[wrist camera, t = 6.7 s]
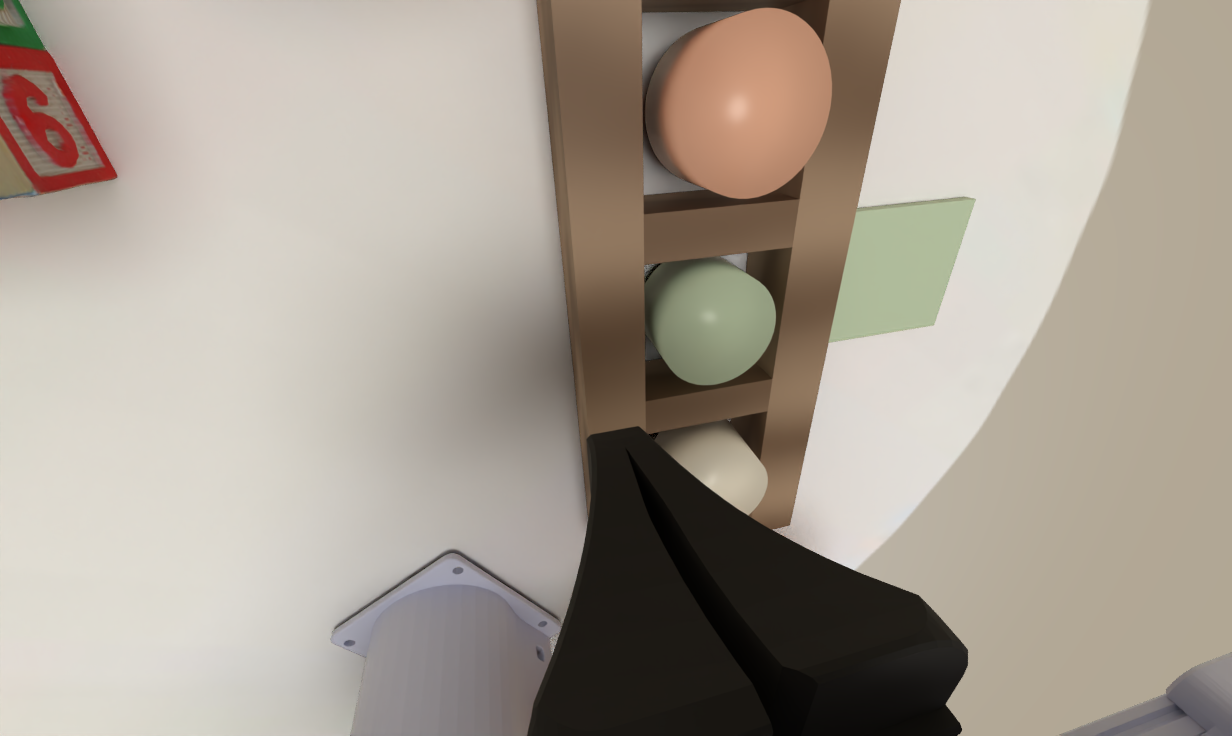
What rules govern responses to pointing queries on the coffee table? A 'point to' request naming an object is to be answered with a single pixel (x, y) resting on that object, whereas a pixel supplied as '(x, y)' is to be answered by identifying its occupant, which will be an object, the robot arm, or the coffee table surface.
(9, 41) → the stack of blocks
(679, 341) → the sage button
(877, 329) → the colour card
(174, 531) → the coffee table surface
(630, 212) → the wooden compartment tray
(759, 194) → the terracotta button
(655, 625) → the robot arm
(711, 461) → the cream button
